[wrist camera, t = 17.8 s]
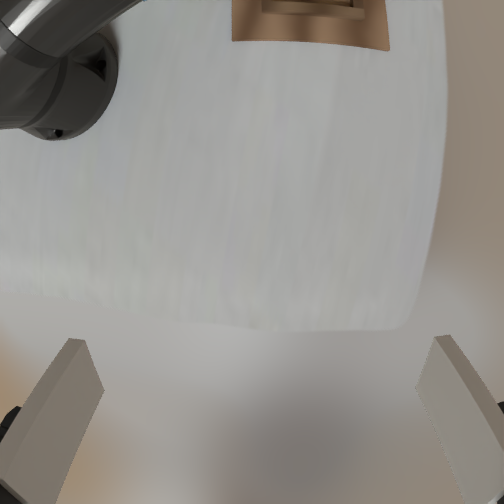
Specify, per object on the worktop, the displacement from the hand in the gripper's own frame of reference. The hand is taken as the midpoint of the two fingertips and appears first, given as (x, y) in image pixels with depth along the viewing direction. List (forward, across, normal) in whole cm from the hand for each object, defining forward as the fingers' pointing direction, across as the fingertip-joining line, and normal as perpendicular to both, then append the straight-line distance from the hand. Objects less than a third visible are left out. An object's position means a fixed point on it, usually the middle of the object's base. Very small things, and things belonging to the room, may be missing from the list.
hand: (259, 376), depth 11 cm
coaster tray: (+29, +6, +27) cm, 40 cm away
